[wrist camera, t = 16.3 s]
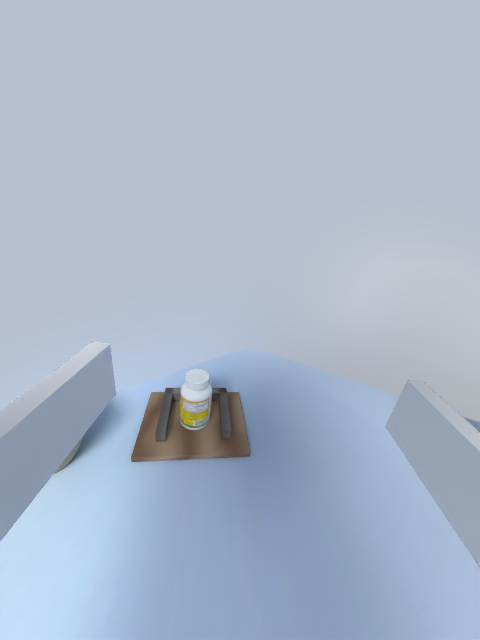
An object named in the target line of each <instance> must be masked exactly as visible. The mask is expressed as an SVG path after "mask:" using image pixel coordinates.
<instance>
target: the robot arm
mask: <svg viewBox="0 0 480 640" xmlns="http://www.w3.org/2000/svg"><path fill="white" fill-rule="evenodd" d="M115 395H116V391H115V383H114V374H113V365H112V356H111V348H110V344H106V343H99V342H91V343H90V344H89V345H88V346H86V347H85V348H83V349H82V350H81V351H80V352H78V353H77V354H76V355H74V356H73V357H72V358H70V359H69V360H68V361H66V362H65V363H64V364H62V365H61V366H60V367H58V368H57V369H56V370H54V371H53V372H52V373H50V374H49V375H48V376H46V377H45V378H44V379H42V380H41V381H40V382H39V383H37V384H36V385H34V386H33V387H32V388H30V389H29V390H28V391H26V392H25V393H24V394H22V395H21V396H20V397H18V398H17V399H16V400H14V401H13V402H12V403H11V404H9V405H8V406H7V407H5V408H4V409H3V410H1V411H0V541H1V540H2V539H3V538H4V536H5V535H6V534H7V532H8V531H9V530H10V529H11V527H12V526H13V525H14V523H15V522H16V521H17V520H18V518H19V517H20V516H21V515H22V513H23V512H24V511H25V509H26V508H27V507H28V506H29V504H30V503H31V502H32V500H33V499H34V498H35V497H36V495H37V494H38V493H39V492H40V490H41V489H42V488H43V486H44V485H45V484H46V483H47V481H48V480H49V479H50V478H51V476H52V475H53V474H54V472H55V471H56V470H57V469H58V467H59V466H60V465H61V463H62V462H63V461H64V460H65V458H66V457H67V456H68V455H69V453H70V452H71V451H72V449H73V448H74V447H75V446H76V444H77V443H78V442H79V440H80V439H81V438H82V437H83V435H84V434H85V433H86V432H87V430H88V429H89V428H90V426H91V425H92V424H93V423H94V421H95V420H96V419H97V418H98V416H99V415H100V414H101V412H102V411H103V410H104V409H105V407H106V406H107V405H108V403H109V402H110V401H111V400H112V398H113V397H114V396H115ZM385 427H386V428H387V430H388V431H389V433H390V434H391V436H392V437H393V439H394V440H395V442H396V443H397V445H398V446H399V448H400V449H401V451H402V452H403V454H404V455H405V457H406V458H407V460H408V461H409V463H410V464H411V466H412V467H413V469H414V470H415V472H416V473H417V475H418V476H419V478H420V479H421V481H422V482H423V484H424V485H425V487H426V488H427V490H428V491H429V493H430V494H431V496H432V497H433V499H434V500H435V502H436V503H437V505H438V506H439V508H440V509H441V511H442V512H443V514H444V515H445V517H446V518H447V520H448V521H449V523H450V524H451V526H452V527H453V529H454V530H455V532H456V533H457V535H458V536H459V538H460V539H461V541H462V542H463V544H464V545H465V547H466V548H467V550H468V551H469V553H470V554H471V556H472V557H473V559H474V560H475V562H476V563H477V565H478V566H479V568H480V432H479V431H478V430H477V429H476V428H475V427H474V426H472V425H471V424H470V423H469V422H468V421H467V420H466V419H465V418H464V417H463V416H461V415H460V414H459V413H458V412H457V411H456V410H455V409H454V408H453V407H452V406H450V405H449V404H448V403H447V402H446V401H445V400H444V399H443V398H442V397H440V396H439V395H438V394H437V393H436V392H435V391H434V390H433V389H432V388H430V387H429V386H428V385H427V384H426V383H425V382H418V381H410V380H408V381H407V383H406V385H405V387H404V389H403V391H402V393H401V395H400V397H399V399H398V401H397V403H396V405H395V407H394V409H393V411H392V413H391V415H390V417H389V419H388V421H387V423H386V425H385Z"/></svg>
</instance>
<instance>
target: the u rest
mask: <svg viewBox="0 0 480 640" xmlns="http://www.w3.org/2000/svg"><path fill="white" fill-rule="evenodd" d="M180 397H181V388H166V390H165V392H151V395H150V399H149V402H148V405H147V408H146V411H145V415H144V418H143V421H142V424H141V427H140V431H139V434H138V437H137V440H136V444H135V447H134V450H133V453H132V456H131V461H132V462H141V461H162V460H183V459H204V458H224V457H245V456H249V454H250V450H249V445H248V439H247V434H246V429H245V423H244V418H243V413H242V408H241V402H240V397H239V392H227V391H226V388H212V399H211V410H210V419H209V422H208V424H207V425H206V426H205V427H203V428H202V429H199V430H189V429H186V428H185V427H184V426H183V425H182V424H181V421H180Z"/></svg>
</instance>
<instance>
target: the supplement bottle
mask: <svg viewBox="0 0 480 640" xmlns="http://www.w3.org/2000/svg"><path fill="white" fill-rule="evenodd" d="M209 379H210V376H209V373H208V372H207V371H205V370H202V369H193V370H190V371H188V372H187V373H186V375H185V383H184V384H183V385H182V387H181V397H180V421H181V424H182V425H183V426H184V427H185V428H186V429H189V430H199V429H202V428H203V427H205V426H206V425H207V424H208V422H209V419H210V410H211V399H212V386H211V384H210V383H209Z"/></svg>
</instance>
